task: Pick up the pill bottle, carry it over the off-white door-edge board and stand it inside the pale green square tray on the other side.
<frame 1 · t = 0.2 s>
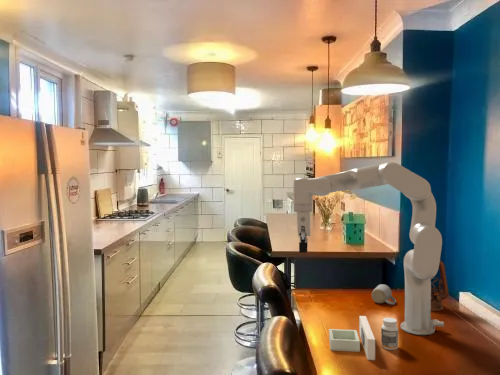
hand: (303, 250, 167), 31 cm above the table, tool pointing down, fingers open, 9 cm apart
lantern: (428, 306, 190), on the table
pale green square tray: (343, 344, 149), on the table
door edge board: (366, 345, 148), on the table
ceramic mug: (384, 302, 196), on the table
pill bottle: (389, 347, 147), on the table
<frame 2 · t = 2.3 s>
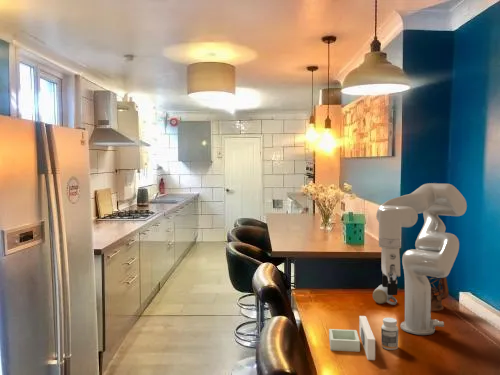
hand: (389, 290, 146), 20 cm above the table, tool pointing down, fingers open, 9 cm apart
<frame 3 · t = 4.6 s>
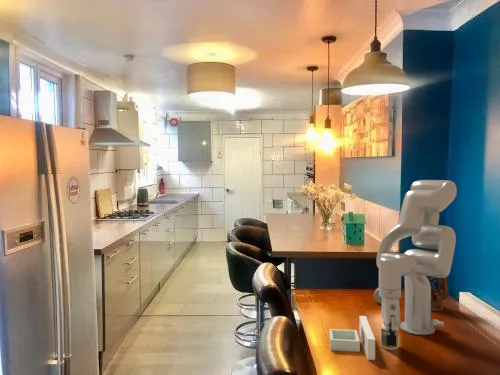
hand: (389, 341, 147), 2 cm above the table, tool pointing down, fingers closed on pill bottle, 5 cm apart
pill bottle: (389, 347, 147), on the table, touching gripper
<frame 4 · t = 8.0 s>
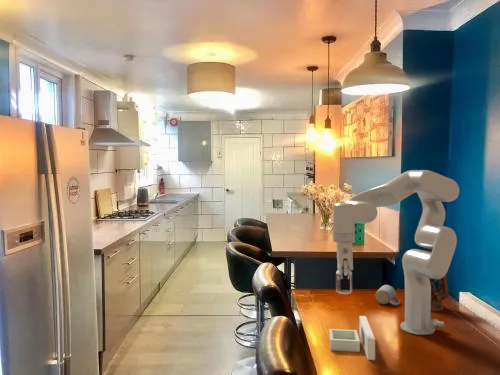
hand: (344, 286, 148), 21 cm above the table, tool pointing down, fingers closed on pill bottle, 5 cm apart
pill bottle: (344, 292, 148), point 19 cm above the table, touching gripper
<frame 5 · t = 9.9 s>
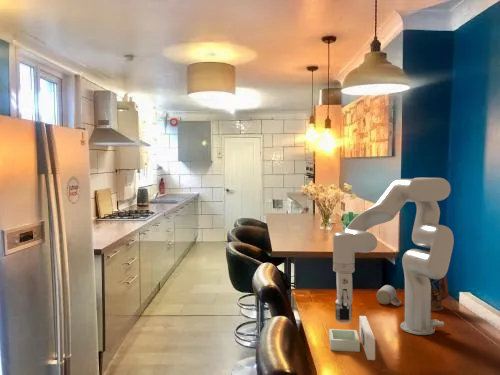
hand: (343, 315, 148), 11 cm above the table, tool pointing down, fingers closed on pill bottle, 5 cm apart
pill bottle: (343, 322, 148), point 8 cm above the table, touching gripper
when the fingers open (5 cm above the table, at t = 11.5 s): pill bottle drops 2 cm, resting on pale green square tray.
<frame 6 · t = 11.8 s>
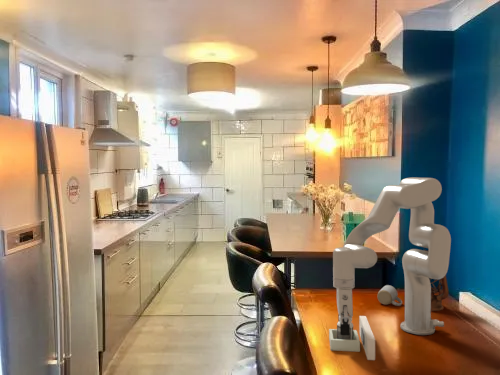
hand: (343, 329, 149), 6 cm above the table, tool pointing down, fingers open, 8 cm apart
pill bottle: (344, 344, 149), resting on pale green square tray
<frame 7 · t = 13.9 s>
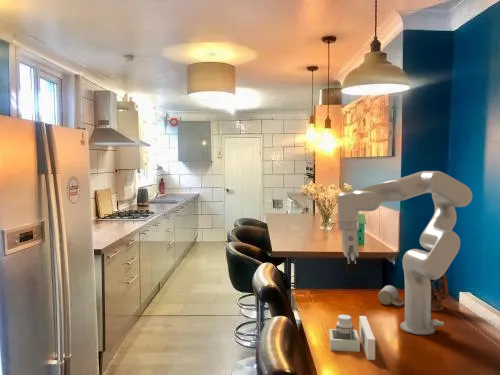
hand: (350, 270, 155), 25 cm above the table, tool pointing down, fingers open, 9 cm apart
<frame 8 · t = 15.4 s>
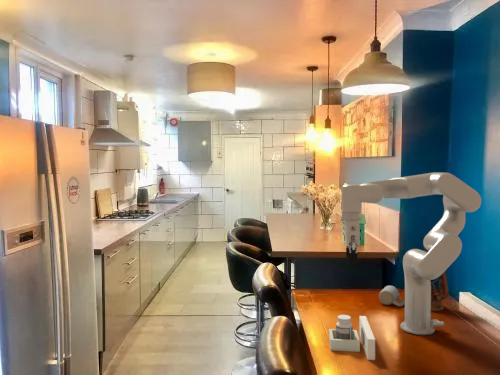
hand: (351, 260, 159), 28 cm above the table, tool pointing down, fingers open, 9 cm apart
at the end: pill bottle 0.2 cm off-centre on the pale green square tray, point 0.2 cm above the pale green square tray's base; pill bottle tilted 1°; the gripper is holding nothing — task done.
